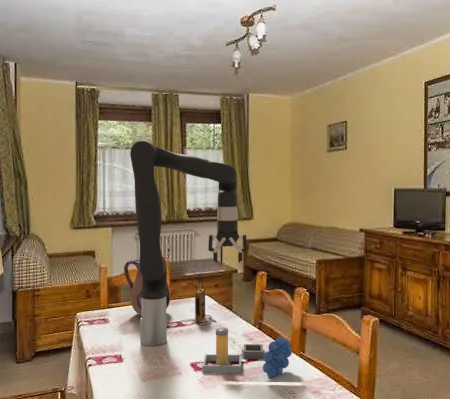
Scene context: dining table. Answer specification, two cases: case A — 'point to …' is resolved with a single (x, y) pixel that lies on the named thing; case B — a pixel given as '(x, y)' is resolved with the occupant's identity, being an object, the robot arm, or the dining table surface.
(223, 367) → the tray
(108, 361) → the dining table surface
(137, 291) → the ceramic pitcher
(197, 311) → the multimeter
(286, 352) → the grapes
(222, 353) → the cylinder
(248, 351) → the socket block
